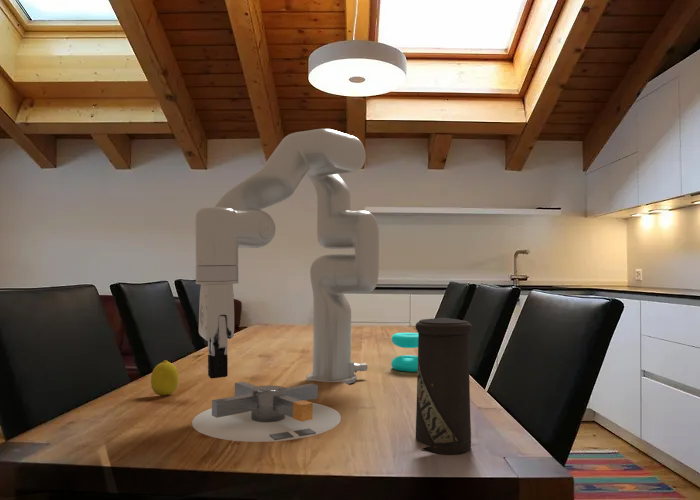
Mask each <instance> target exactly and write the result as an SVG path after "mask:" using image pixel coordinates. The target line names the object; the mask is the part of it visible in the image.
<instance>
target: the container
mask: <svg viewBox="0 0 700 500" xmlns="http://www.w3.org/2000/svg"><path fill="white" fill-rule="evenodd" d="M415 330H416V333H418V347H417V356H418V370H417V372H416V373H417V375H416V376H417V377H416V378H417V379H416V380H417V381H416V410H415V411H416V412H415V440H416V441H417V442H419V443H420V444H422V445H425V446H426V447H421V450H424V451H426V452H431V453H436V454H442V455H443V454H444V455H457V454H458V455H459V454H463V453H466V452H468V451H470V450H471V447H472V429H471V428H472V426H471V425H472V424H471V422H472V421H471V393H470V391H471V388H470V334H471V332H472V330H473V325H472V324H471V323H470V322H469V321H467V320H463V319H462V320H461V319H457V318H449V317H438V318H437V317H436V318H433V317H432V318H424V319H420V320H419V321H418V322H416V323H415Z"/></svg>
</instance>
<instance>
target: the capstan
mask: <svg viewBox="0 0 700 500" xmlns="http://www.w3.org/2000/svg"><path fill="white" fill-rule="evenodd" d="M318 396H319V385H318V384H316V383H313V382H311V383H305V384H301V385H295V386H288V387H284V386H281V385H261V386H258V385H255V384H252V383H248V382H246V381H239V382H235V383H234V396H229V397H222V398H218V399H217V398H216V399H212V400H211V408H212V416H214V417H216V418H219V417H224V416H229V415H234V414H239V413H244V412H249V411H251V419H252V420H253V421H256V422H277V421H281V420H283V419H284V418H285V415H287V416H290V417H292V418H293V419H296V420H299V421H301V422H302V421H306V420H311V419H312V416H313V403H314V402H312V403H311V401H310V400H316V399H318V398H319V397H318Z"/></svg>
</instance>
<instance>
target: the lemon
mask: <svg viewBox="0 0 700 500" xmlns="http://www.w3.org/2000/svg"><path fill="white" fill-rule="evenodd" d="M178 371H179V370H178V368H177V367H176V365H175V364H174V363H171V362H170V361H168V360H166V359H165V360H163V361H162V362H160V363H158V364H156V365H155V367H154V368H153V370H152V372H151V377H150V386H151V389H152V391H153V392H154V393H155V394H156V395H158V396H161V397H162V396H169V395H172V393H174V392H176V389H177V388H178V385H179V381H180V380H179V379H180V376H179V372H178Z"/></svg>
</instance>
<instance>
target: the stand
mask: <svg viewBox="0 0 700 500" xmlns="http://www.w3.org/2000/svg"><path fill="white" fill-rule="evenodd" d="M310 402H311V401H310ZM311 403H313V416H312V419H311V420H306V421H302V422H301V421H299V420H296V419H293V418H292V417H290V416H287V415H285V418H284V419H283V420H281V421H277V422H256V421H253V420H252V419H251V411H249V412H244V413H239V414H234V415H229V416H224V417H219V418H216V417H214V416H212V407H211V408H209V409H207V410H203V411H202V412H200V413H198V414H197V415H196V416H194V418H193V419H192V421H191V426H192V428H193V429H194V430H195V431H196V432H199V433H200V434H202V435H206V436H208V437H211V438H215V439H221V440H226V441H234V442H235V441H236V442H245V443H247V442H248V443H262V442H263V443H265V442H266V443H268V442H271V443H272V442H283V441H284V442H285V441H291V440H298V439H299V440H300V439H304V438H308V437H309V438H310V437H313V436H317V435H319V434H323V433H325V432H328V431H330V430H332V429H334V428H336V427H337V426H338V425H339V423H340V422H341V419H342V416H341V414H340V413H339V411H337V410H336V409H334V408H332V407H330V406H327V405H323V404H320V403H316V402H311Z"/></svg>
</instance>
